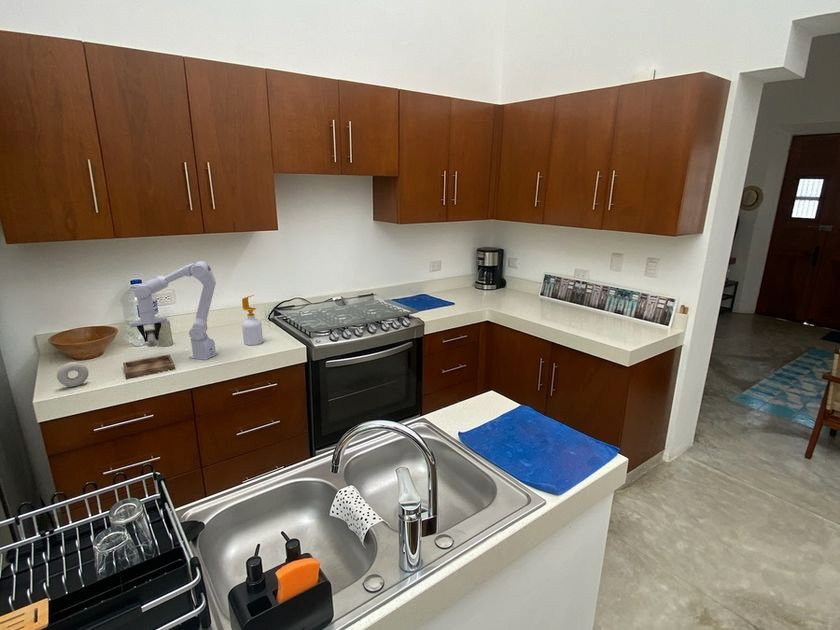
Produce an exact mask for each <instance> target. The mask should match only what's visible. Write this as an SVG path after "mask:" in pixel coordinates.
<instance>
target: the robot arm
mask: <svg viewBox="0 0 840 630" xmlns="http://www.w3.org/2000/svg"><path fill="white" fill-rule="evenodd" d="M185 276H186V277H193V278H195V279H197V280H198V281H199V282H200V283H201V284H202V286H203V287H202V290H201V293H200V294H201V295H200V298H199V302H198V307H197V311H196V314H195V318H194V322H193V325H192V327H190V329H189V332H188V335H189V337H190V344H191V351H192V354H191V355H190V356H188V359H197V360H204V361H205V360H208V359H210V358H212V357H214V356H216V355H218V353H217V351H216V343H215V340H214V339H213V338H211V337H209V335H208V334H207V333H206V332H207V331H208V325H207V323H208V315H209V312H210V309H211V305H212V300H213V297H214V293H215V292H214V291H215V288H216V283H217V280H216V278H215V276H214V272H213V270H212V267H211V266H210V265H209V263H208V262H206V261H204V260H198V261H196V262H193V263H190V264H186V265H184V266H183V267H181V268H179V269H176V270H174V271H173V272H171V273H169V274H167V275H166V276H164V275H154V276H153V278H152V279H149V280H148V281H147V280H145V281H143V282H142V283H140V284H139V285H138V286H136V287H135V288H134V290H133V293H134V295H135V297H136V299H137V308H138V313H139V314H138V315H139V318H140V320H137V321H132V322H128V324H129V329H132V328H136V329H137V330H138V332H139V333H140V335H141V336H142V338H143V340H144V343H147V340H146V336H145V331H146V330H145V327H144V326H151V325H152V326H153V324H154V326H155V331H156V339H157V340H159V339H158V337H159V331H160V329H161V323H168V322H167V320H168V318H167V317H159V318H156V313H155V308H154V307H155V306H154V301H153V297H152V296H153V294H156V293H159V292H160V291H162V290H163V289H166V288H168V287H169V284H170V283H171V282H174V281H176V280H179V279H181V278H183V277H185Z"/></svg>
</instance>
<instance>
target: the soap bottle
mask: <svg viewBox="0 0 840 630" xmlns="http://www.w3.org/2000/svg"><path fill="white" fill-rule="evenodd" d="M251 297H254V294H252V295H249V296H246V297H243V298H242V300H241V303H242V309H243V311H247V312H248V313H247V319H245V320H244V321H243V322H242V325H241V326H242V327H241V328H242V334H243V335H242V337H243V344H244V345H246V346H256V345H259V344H262V343H263V342H264V338H263V327H262V325H263V324H262V322H261V320H260V319H258V318H255V317H256V315H255V313H253V312H254V311H255V310H256V309H257V308H256V307H250V305H249V304H250V303H249V298H251Z"/></svg>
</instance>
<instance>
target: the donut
mask: <svg viewBox="0 0 840 630" xmlns="http://www.w3.org/2000/svg"><path fill="white" fill-rule="evenodd" d="M73 371H76V372H77V376H75V377H70V376H69V373H70V372H73ZM88 377H89V369H88V367H87V366H86V365H85V364H83V363H81V362H77V361H69V362H67V363H65V364H63V365H62V366H60V367H59V369H58V370H57V373H56V379H57V380H58V382H59V383H60V384H61V385H63V386H65V387H78V386H80V385H82V384H83V383H85V382H86V380H87V379H88Z"/></svg>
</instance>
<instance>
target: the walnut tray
mask: <svg viewBox="0 0 840 630" xmlns="http://www.w3.org/2000/svg"><path fill="white" fill-rule="evenodd" d="M122 364H123V372H124V375H125V379H126V380H128V379H129V378H130V379H134V377H135V378H138V377H139V376H140V377H144V375H145V376H149V374H150V375H154V373H155V374H158V372H160V373H164V372H163V371H165V372H169V371H168V370H170V371H174V370H173V369H175V370H176V366H175V365H176V364H175V363H174V360H173V359H172V356H171V354H164V355H159V356H154V357H148V358H142V359H136V360H131V361H126V362H123V363H122ZM130 379H129V380H130Z"/></svg>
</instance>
